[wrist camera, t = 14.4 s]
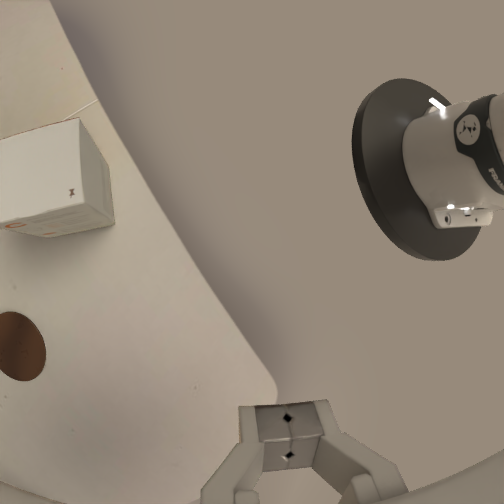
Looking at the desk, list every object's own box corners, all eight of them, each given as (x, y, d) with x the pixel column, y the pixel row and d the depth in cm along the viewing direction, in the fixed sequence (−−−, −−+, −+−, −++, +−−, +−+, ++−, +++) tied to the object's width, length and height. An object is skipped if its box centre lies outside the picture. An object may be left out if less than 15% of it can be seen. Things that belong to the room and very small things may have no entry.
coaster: (45, 317, 28) (44, 318, 28) (48, 386, 28) (47, 387, 28) (-12, 306, 26) (-13, 306, 26) (-9, 372, 26) (-10, 373, 26)
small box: (109, 165, 31) (81, 114, 18) (116, 225, 31) (86, 204, 18) (41, 180, 28) (-15, 142, 16) (46, 239, 29) (-15, 228, 16)
